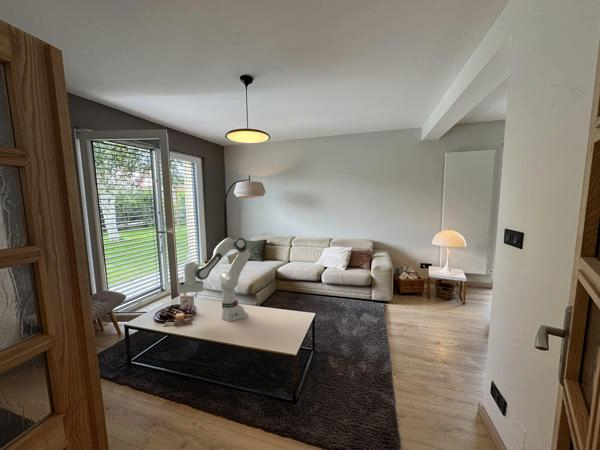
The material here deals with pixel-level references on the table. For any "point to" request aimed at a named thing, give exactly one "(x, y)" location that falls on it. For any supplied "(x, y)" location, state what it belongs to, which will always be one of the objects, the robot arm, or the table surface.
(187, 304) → the candy bar box
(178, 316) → the block
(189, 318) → the chute
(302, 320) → the table surface
